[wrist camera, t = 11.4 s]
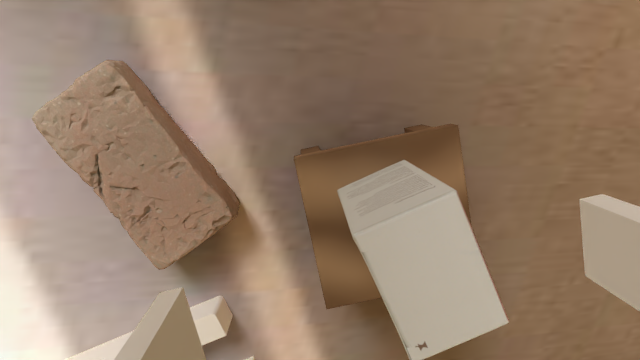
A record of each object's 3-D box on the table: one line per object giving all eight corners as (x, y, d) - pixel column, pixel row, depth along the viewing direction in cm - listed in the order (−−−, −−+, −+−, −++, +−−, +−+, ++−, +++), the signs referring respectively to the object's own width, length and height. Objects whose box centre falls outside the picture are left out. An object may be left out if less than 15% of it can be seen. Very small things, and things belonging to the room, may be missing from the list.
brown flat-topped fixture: (295, 146, 37) (294, 159, 29) (425, 119, 37) (458, 125, 29) (321, 267, 40) (326, 309, 32) (443, 242, 40) (478, 277, 32)
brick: (53, 115, 36) (16, 118, 31) (125, 56, 35) (99, 50, 31) (177, 255, 39) (161, 276, 35) (246, 204, 38) (238, 219, 34)
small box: (444, 251, 31) (514, 326, 21) (376, 280, 31) (413, 370, 21) (405, 156, 30) (460, 187, 19) (334, 187, 30) (351, 235, 20)
